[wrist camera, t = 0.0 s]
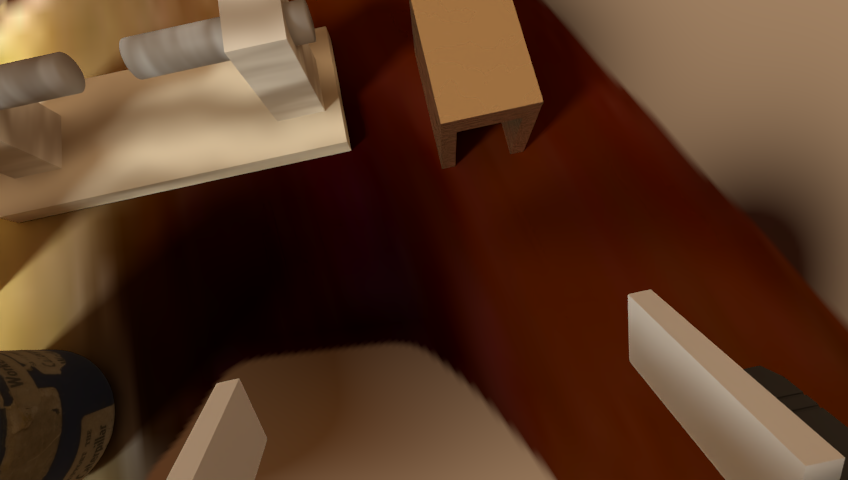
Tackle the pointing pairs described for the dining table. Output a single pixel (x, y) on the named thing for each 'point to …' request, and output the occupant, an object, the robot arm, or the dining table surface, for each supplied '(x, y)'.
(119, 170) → the shaft rig
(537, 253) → the dining table surface
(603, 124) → the dining table surface
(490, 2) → the block
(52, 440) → the canister
